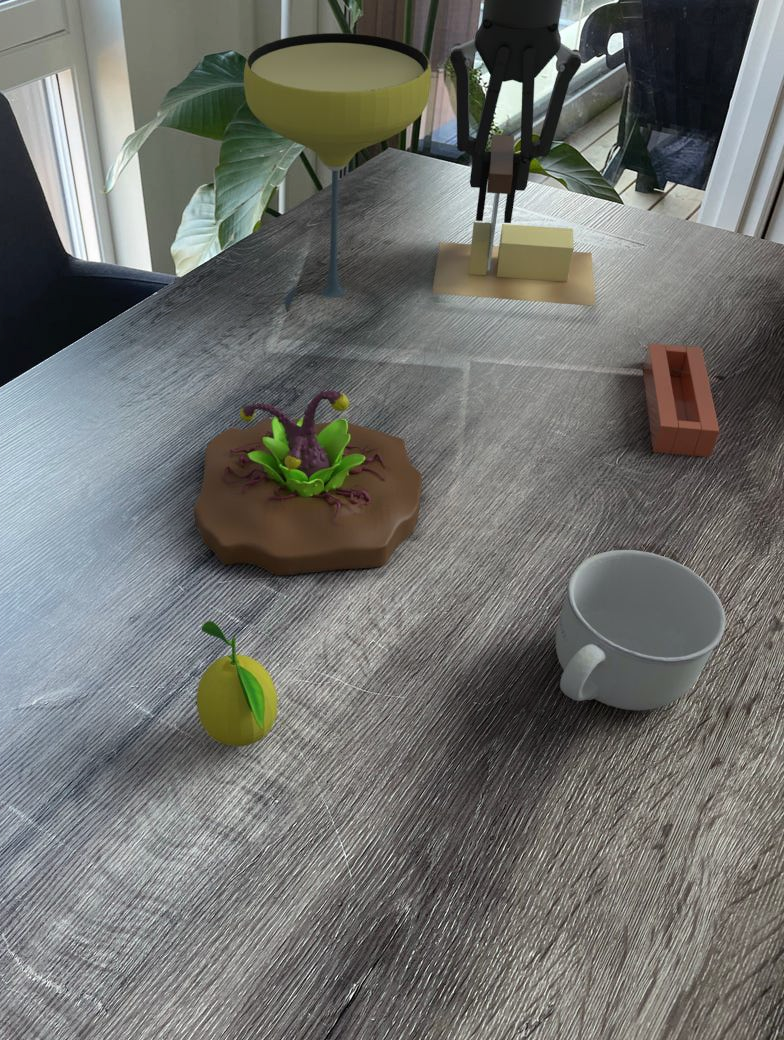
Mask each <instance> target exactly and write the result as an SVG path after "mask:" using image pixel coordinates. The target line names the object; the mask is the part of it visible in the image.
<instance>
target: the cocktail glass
mask: <svg viewBox="0 0 784 1040" xmlns="http://www.w3.org/2000/svg"><path fill="white" fill-rule="evenodd" d="M431 67H432V66H431V63H430V60H429V58H428V56H426V54H425V53H424V52H422V51H421V50H420V49H418V48H416V47H415V46H412V45H410V44H409V43H405V42H403V41H401V40H400V41H399V40H395V39H392V38H388V37H382V36H378V35H370V34H362V33H361V34H360V33H347V32H324V33H309V34H301V35H294V36H289V37H284V38H281V39H276V40H273V41H270V42H267V43H265V44H263V45H261V46H259V47H256V49H254V50H252V51H251V52H250V53H249V55H248V56H247V58H246V61H245V64H244V68H243V88H244V95H245V99H246V103H247V106H248V108H249V109H250V111H251V113H252V114H253V115H254V116H255V118H256V119H257V120H258V121H259V122H261V123H262V124H263V125H264V126H265V127H267V129H269V130H271V131H272V132H274V133H275V134H277V135H279V136H281V137H283V138H284V139H286V140H289V141H291V142H293V143H296V144H298V145H301V146H303V147H305V148H308V149H310V150H311V151H312V152H314V153H315V154H316V155H317V157H318V158H319V160H320V162H321V163H322V164H323V166H324V167H325V168H326V169H327V170H330V171H331V217H330V218H331V220H330V246H329V247H330V249H329V267H328V275H327V281H326V285H325V287H324V288H323V289H321V294H322V296H323V297H326V298H331V299H332V298H334V299H335V298H340V297H342V296H343V295H344V294H345V291H344V289H342V288H341V287H340V281H339V275H338V199H339V197H338V196H339V195H338V194H339V171H341V170H343V169H345V167H347V165H348V164H350V162H351V160H352V159H353V157H355V155H356V154H357V153H358V152H360V151H362V150H363V149H366V148H368V147H370V146H374V145H376V144H378V143H381V142H384V141H387V140H388V139H390V138H392V137H395V136H396V135H398V134H399V133H401V132H404V130H406V129H407V128H408V127H410V126H411V125H412V124H413V123H414V122H416V120H417V119H419V117H420V116H421V115H422V114H423V112H424V111H425V109H426V107H427V105H428V102H429V98H430V92H431V88H432V87H431V85H432V68H431ZM296 290H297V286H296V287H294V288H292V289H291V290H290V291H289V292H288V293H287V294H286V296H285V298H284V307H285V309H286V312H289V311H290V307H291V304H292V302H293V299H294V295H295V293H296Z"/></svg>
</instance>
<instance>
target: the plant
mask: <svg viewBox="0 0 784 1040" xmlns="http://www.w3.org/2000/svg"><path fill="white" fill-rule="evenodd" d="M322 400H328V401H329V404H330V406H331V408H332V409H334V410H335V411H337V412H345V411H346V410H348V408H349V406H350V399H349V398H348V397H347V395H345V393H343V392H341V391H337V390H330V389H328V390H321V391H319V393H318V394H316V395H315V396H314V397H313V398H312V399H311V401H310V403H308V404H307V408H306V409H305V410H304V411H303V417H301V418H299V417H297V418H294V419H291V416H288V413H284V412H283V410H282V409H281V410H280V409H279V407H274V406H273V405H271V404H270V403H267V404H266V403H264V402H263V403H261V402H259V403H258V402H257V403H256V404H255V403H253V404H247V405H244V406H243V407H242V408H240V411H239V417H240V419H241V420H242V421H243V422H244V423H250V422H251V421H252V420H253V419H254V418H255V416H256V410H258V411H261V410H262V411H263V412H268V413H269V414H270V415H273V416H274V417H273V418H264V419H262V420H260V421H259V422H257V423H256V424H254V425H252V426H250V427H248V428H237V427H230V428H227V429H226V430H224V431H222V432H220V433H219V434H217V435H216V436H214V437H213V438H212V439H211V440H210V441H209V442H208V443H207V445H206V447H205V450H204V459H203V463H204V464H203V465H204V473H203V476H202V477H203V478H202V482H201V488H200V491H199V492H200V493H199V496H198V498H197V500H196V502H195V503H194V505H193V509H192V512H193V523H194V526H195V528H196V530H198V532H199V534H200V538H201V540H202V542H203V544H204V545H205V546H206V547H207V548H208V549H209V550H210V551H212V552H213V553H214V554H215V555H216V557H217V558H218V560H219V561H220V563H221V564H222V565H224V566H227V565H234V564H250V565H253V566H257V567H260V568H262V569H264V570H266V571H267V572H268V573H270V574H272V575H276V576H292V575H299V574H310V573H320V572H328V571H329V572H331V571H337V570H339V571H340V570H355V569H368V568H369V569H370V568H379V567H382V566H385V565H387V562H388V561H389V560H390V558H391V556H392V555H393V553H394V552H395V550H396V549H397V547H399V546H400V544H401V543H402V542H404V541H405V540H407V539H408V538H409V537H410V536H411V535H412V533H413V532H414V530H415V528H416V526H417V523H418V519H419V513H420V503H421V502H420V501H421V493H422V484H423V475H422V473H421V471H419V470H418V469H417V468H416V467H415V466H414V465H413V464H412V463H411V460H410V459H409V456H408V455H409V454H408V451H407V448H406V444H405V443H406V442H405V439H404V438H402V437H398V436H395V435H391V434H389V433H387V432H383V431H380V430H376V429H372V428H370V427H369V428H368V427H365V426H362V425H358V424H355V423H351V422H348V421H347V420H346V419H345V418H340V419H337V420H334V421H332V422H321V423H316V420H315V419H316V418H315V416H316V412H317V409H318V408H319V405H320V403H321V402H322Z"/></svg>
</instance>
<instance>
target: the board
mask: <svg viewBox="0 0 784 1040" xmlns="http://www.w3.org/2000/svg"><path fill="white" fill-rule="evenodd" d="M498 251H499V245H493V249H492V256H491V264H490V271H487V270H486V275H485V276H484V275H469V274H468V272H469V262H470V253H471V243H461V242H460V243H457V242H445V241H439V245H438V251H437V258H436V265H435V271H434V278H433V285H432V292H431V294H435V295H446V296H459V297H460V296H462V297H475V298H485V299H486V298H488V299H500V300H513V301H525V302H526V301H527V302H538V303H550V304H551V303H552V304H565V305H576V306H577V305H578V306H589V307H590V306H591V307H596V306H597V305H596V292H595V280H594V279H595V278H594V268H593V253H592V252H584V251H583V252H582V251H573V255H572V260H571V266H570V271H569V276H568V281H567V282H559V281H546V280H532V279H519V278H506V277H496V275H497V259H498ZM487 263H488V261H487Z"/></svg>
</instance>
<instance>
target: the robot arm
mask: <svg viewBox="0 0 784 1040" xmlns="http://www.w3.org/2000/svg"><path fill="white" fill-rule="evenodd" d="M562 5H563V0H483V7H482V17H481V18H482V19H481V23H480V25H479V28H478V29H477V31H476V33H475V35H474V38H472V39H471V40H468V41H466V42H464V43H460V42H459V43H458V42H457V43H455V44H453V45H452V47H451V50H450V56H449V58H450V63H451V66H452V68H453V71H454V74H455V76H456V86H455V87H456V148H457V150H458V151H459V152H462V153H464V152H465V153H467V154H468V155H470V156H471V169H470V177H469V185H470V188H475V189H476V188H477V189H479V190H478V196H477V197H478V198H477V205H476V213H475V214H476V215H475V222H483V220H484V213H485V206H486V199H487V198H486V197H487V186H488V175H489V167H490V158H491V150H487V145H488V141H489V138H490V134H491V130H492V126H493V121H494V118H495V113H496V109H497V105H498V101H499V97H500V93H501V90H502V86H503V83H505V82H510V81H514V82H517V83H520V84H522V85H521V112H520V113H521V114H520V115H521V116H520V117H521V118H520V121H521V122H520V145H519V146H520V147H519V148H520V150H519V152H518V153H517V152H514V153H513V175H512V182H511V190H510V194H506V199H505V206H504V218H503V224H512V218H513V213H514V206H515V205H514V204H515V198H516V191H522V192H524V191H525V190H526V188H527V187H528V182H529V174H530V168H531V164H532V161H533V160H535V159H536V158H539V157H542V158H545V157H547V156H549V154H550V152H551V150H552V147H553V142H554V138H555V135H556V131H557V128H558V124H559V122H560V118H561V115H562V110H563V108H564V105H565V104H564V103H565V100H566V96H567V93H568V90H569V85H570V83H571V82H572V80H573V78H574V77H575V75H576V73H577V72H578V71H579V70H580V67H582V55H581V51H580V50H578V49H576V48H575V49H571V48H570V47H568V46H566V45H565V44H564V43H562V37H561V33H560V30H559V25H560V19H561V12H562V7H563V6H562ZM476 53H478V55H479V56H480V59H481V60H482V63H483V64H484V66H485V68H486V70H487V71H488V73H489V75H490V76H489V79H488V85H487V89H486V94H485V98H484V102H483V106H482V110H481V114H480V118H479V123H478V126H477V131H476V135H475V137H474V136H471V135H470V68H471V67H472V66H473V64H474V61H475V57H474V55H475V54H476ZM554 57H556V62H555V69H556V71H557V74H556V77H555V80H554V84H553V88H552V91H551V95H550V99H549V102H548V105H547V108H546V109H547V110H546V113H545V117H544V120H543V124H542V128H541V131H540V133H539V134H540V135H539V138H538V139H537V140H534V141H533V132H534V131H533V130H534V106H535V105H534V103H535V101H534V100H535V79H536V78H537V77H538V76H539V75H540V73H541V72H542V71H543V70H544V69H545V67H546V66H547V65H548V64H549V63H550V62H551V60H553V58H554ZM486 150H487V151H486Z"/></svg>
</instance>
